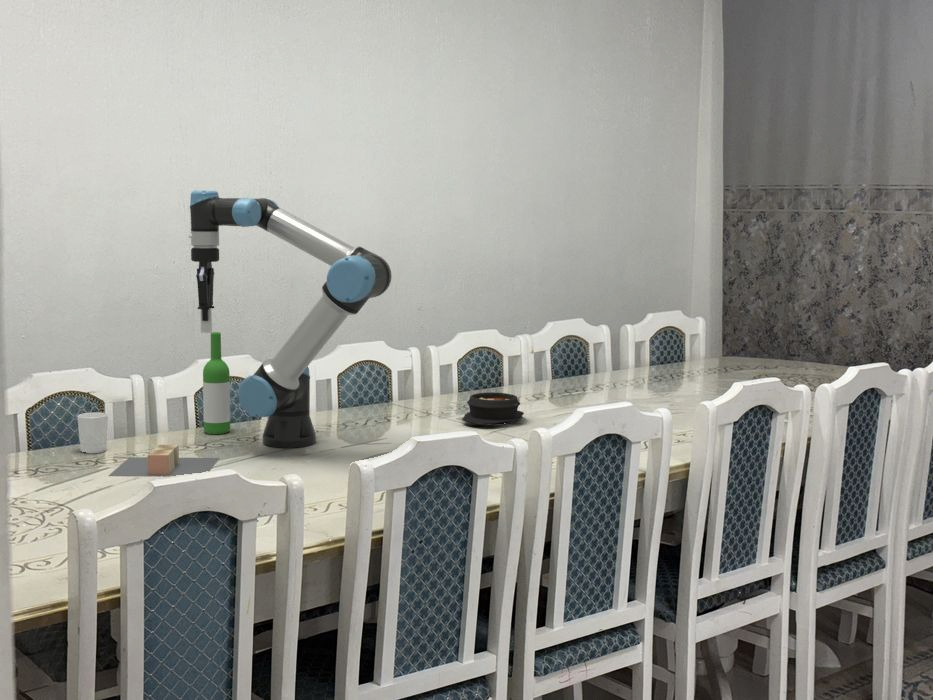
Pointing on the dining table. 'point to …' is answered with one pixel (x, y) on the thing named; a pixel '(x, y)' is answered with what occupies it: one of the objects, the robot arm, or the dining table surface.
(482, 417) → the casserole
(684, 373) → the dining table surface
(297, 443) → the robot arm
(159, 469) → the maple block
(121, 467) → the mat
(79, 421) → the white cup
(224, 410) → the wine bottle
